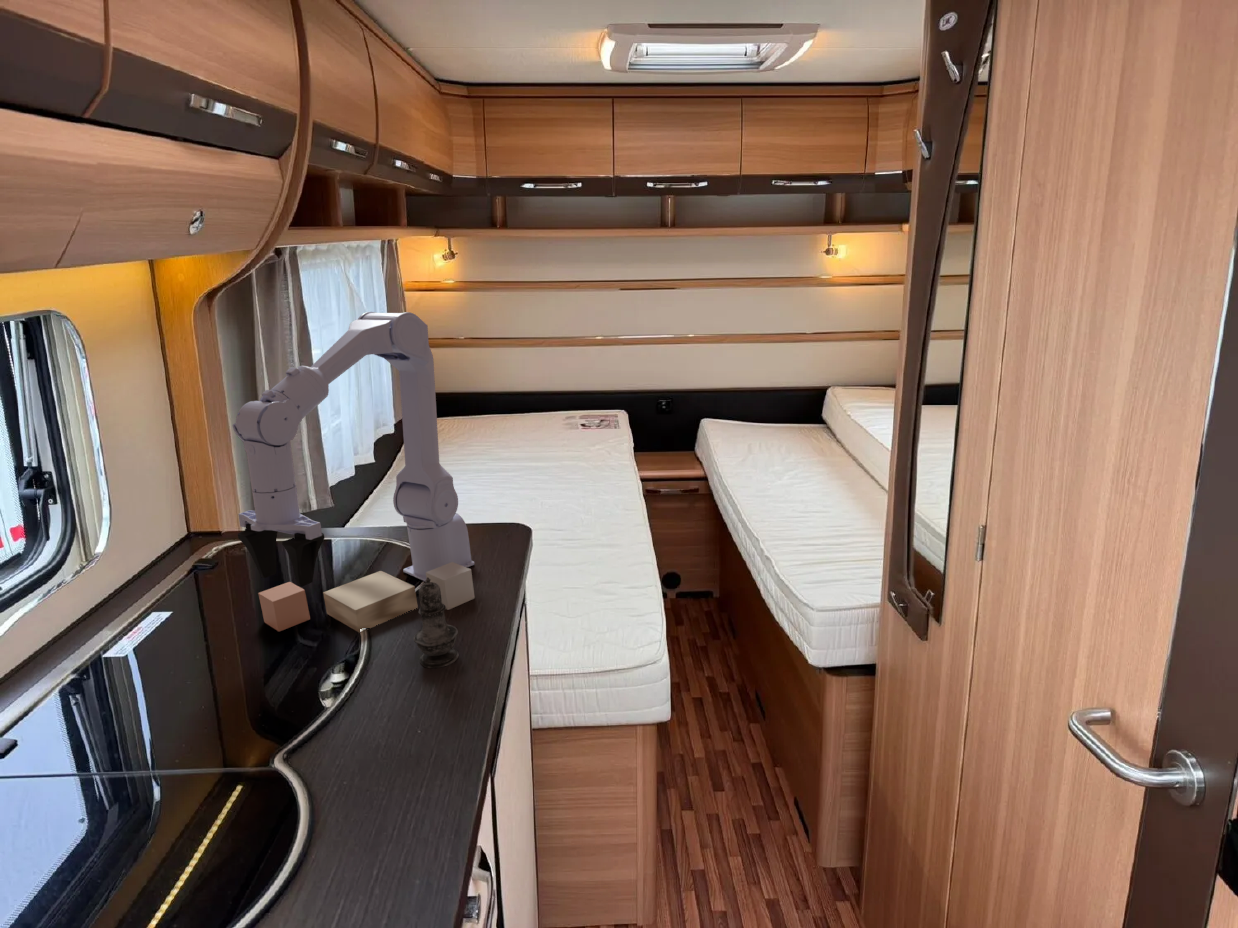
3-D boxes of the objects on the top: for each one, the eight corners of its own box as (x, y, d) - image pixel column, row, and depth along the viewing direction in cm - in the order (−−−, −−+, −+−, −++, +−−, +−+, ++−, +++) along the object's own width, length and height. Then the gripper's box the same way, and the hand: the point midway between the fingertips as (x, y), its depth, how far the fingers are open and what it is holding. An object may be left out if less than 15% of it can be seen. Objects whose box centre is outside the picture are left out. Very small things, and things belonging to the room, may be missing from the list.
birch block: (384, 593, 140) (380, 570, 139) (418, 610, 133) (414, 586, 132) (327, 615, 134) (323, 592, 132) (359, 634, 127) (355, 610, 126)
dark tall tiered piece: (408, 664, 117) (395, 583, 113) (436, 644, 122) (424, 565, 118) (442, 672, 114) (430, 589, 110) (469, 651, 119) (459, 571, 115)
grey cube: (456, 590, 139) (452, 561, 137) (474, 598, 135) (471, 569, 134) (429, 601, 135) (425, 572, 134) (448, 610, 132) (444, 580, 131)
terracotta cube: (295, 610, 136) (289, 581, 134) (310, 619, 132) (304, 589, 131) (264, 622, 132) (258, 592, 131) (279, 632, 129) (272, 601, 127)
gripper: (214, 489, 119) (228, 581, 123) (286, 500, 112) (299, 598, 116) (257, 477, 125) (270, 565, 128) (328, 487, 118) (339, 580, 121)
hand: (286, 579), depth 122 cm, fingers open, 7 cm apart
